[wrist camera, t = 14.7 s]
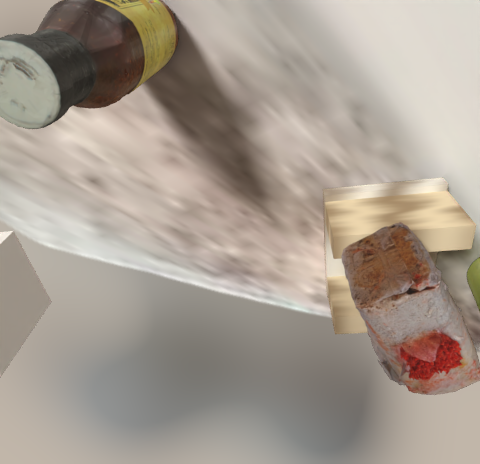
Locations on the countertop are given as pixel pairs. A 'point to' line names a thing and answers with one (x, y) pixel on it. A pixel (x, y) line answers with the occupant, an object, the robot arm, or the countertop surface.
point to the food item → (410, 312)
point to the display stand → (381, 215)
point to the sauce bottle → (83, 58)
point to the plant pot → (475, 280)
